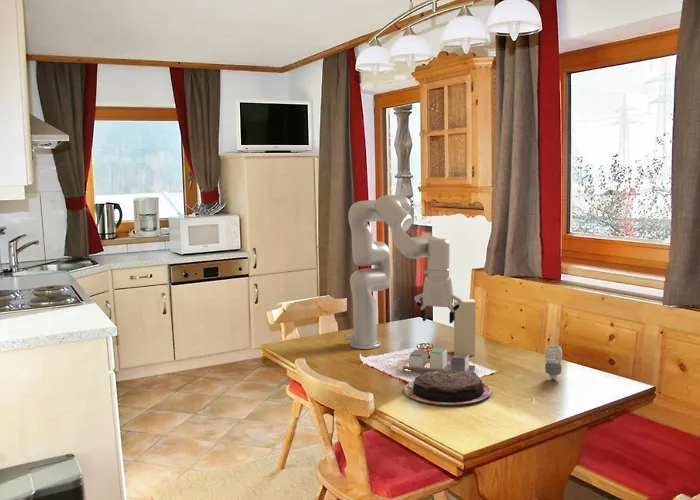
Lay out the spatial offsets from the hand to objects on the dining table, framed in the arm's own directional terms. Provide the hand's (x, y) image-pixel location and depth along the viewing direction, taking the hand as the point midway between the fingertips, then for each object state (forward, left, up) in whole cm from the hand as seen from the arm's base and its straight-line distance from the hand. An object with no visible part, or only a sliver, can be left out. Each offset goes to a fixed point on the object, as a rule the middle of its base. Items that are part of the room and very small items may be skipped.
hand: (437, 321), depth 235 cm
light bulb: (+39, +1, -18) cm, 43 cm away
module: (0, 0, -16) cm, 16 cm away
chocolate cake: (+8, -22, -19) cm, 30 cm away
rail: (0, 0, -18) cm, 18 cm away
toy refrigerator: (+4, +25, -18) cm, 31 cm away
